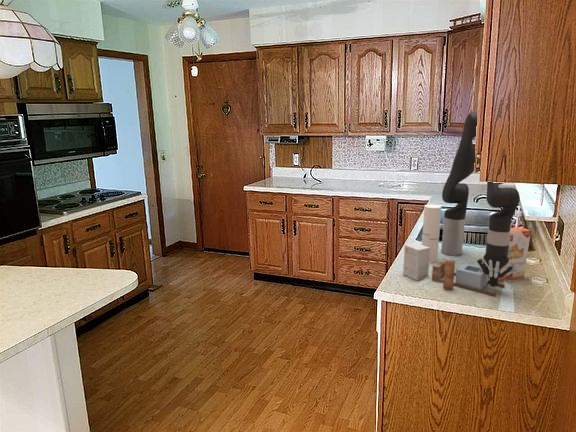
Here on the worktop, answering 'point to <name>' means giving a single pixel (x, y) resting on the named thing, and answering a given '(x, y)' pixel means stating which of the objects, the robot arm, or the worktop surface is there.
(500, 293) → the worktop surface
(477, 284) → the grey square collar
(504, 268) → the cracker box
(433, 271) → the track
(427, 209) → the cylindrical container
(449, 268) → the dowel
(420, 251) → the small box
